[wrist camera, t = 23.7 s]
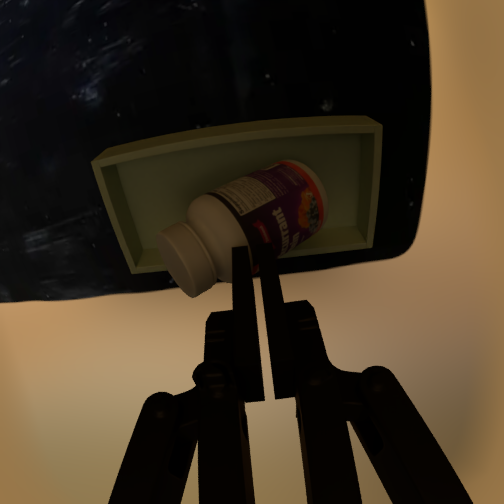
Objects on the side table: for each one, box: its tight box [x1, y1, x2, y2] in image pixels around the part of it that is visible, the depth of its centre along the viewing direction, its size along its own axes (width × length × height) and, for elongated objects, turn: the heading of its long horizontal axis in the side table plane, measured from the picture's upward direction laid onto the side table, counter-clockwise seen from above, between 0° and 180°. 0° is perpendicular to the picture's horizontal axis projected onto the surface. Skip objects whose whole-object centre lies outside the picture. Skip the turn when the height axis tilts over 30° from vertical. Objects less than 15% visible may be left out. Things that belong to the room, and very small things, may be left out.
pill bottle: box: [156, 160, 329, 298], centre depth 18 cm, size 5×5×10 cm
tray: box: [91, 116, 383, 274], centre depth 21 cm, size 19×10×3 cm, turn 96°
